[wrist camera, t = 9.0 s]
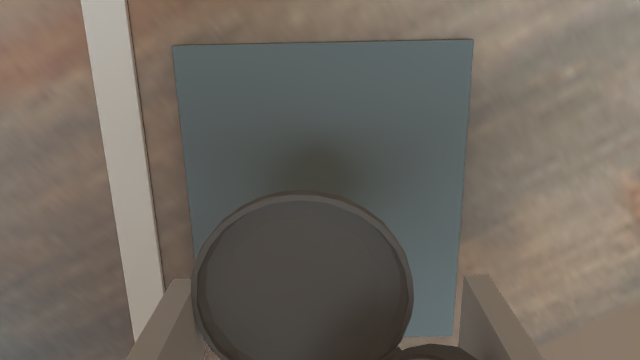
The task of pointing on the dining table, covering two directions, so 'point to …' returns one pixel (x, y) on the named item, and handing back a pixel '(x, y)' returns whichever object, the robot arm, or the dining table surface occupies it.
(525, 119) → the dining table surface
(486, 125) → the dining table surface
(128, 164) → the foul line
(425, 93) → the mat
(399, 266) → the pocket watch
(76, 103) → the dining table surface
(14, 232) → the dining table surface
